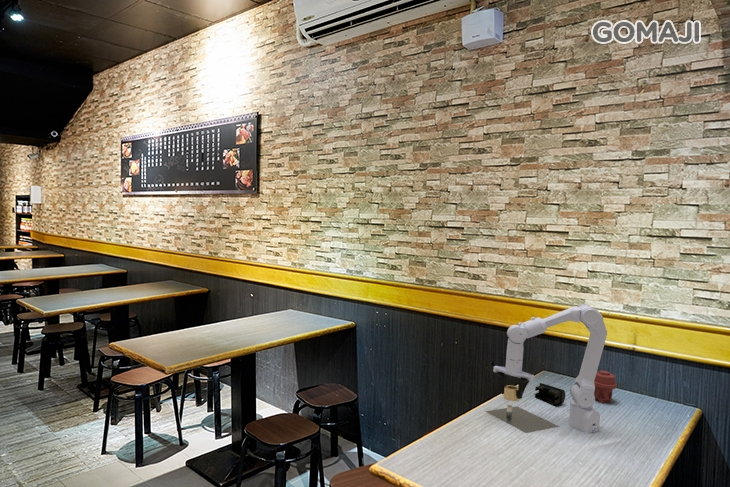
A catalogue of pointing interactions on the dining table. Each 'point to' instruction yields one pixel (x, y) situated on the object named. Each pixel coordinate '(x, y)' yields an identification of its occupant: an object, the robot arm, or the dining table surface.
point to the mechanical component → (604, 386)
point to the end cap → (550, 394)
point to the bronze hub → (511, 393)
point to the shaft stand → (522, 419)
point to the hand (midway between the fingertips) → (511, 395)
